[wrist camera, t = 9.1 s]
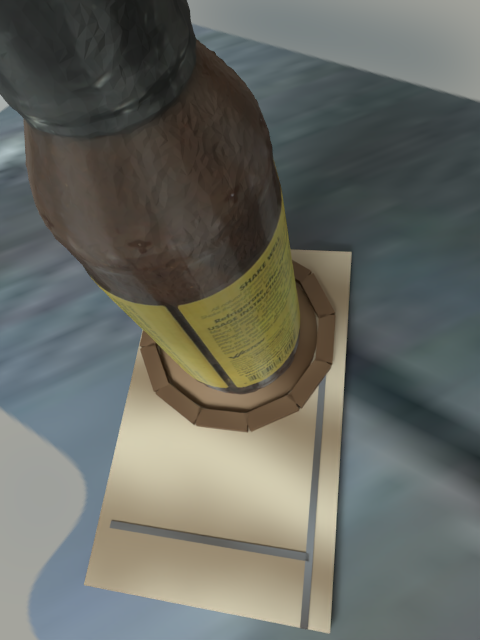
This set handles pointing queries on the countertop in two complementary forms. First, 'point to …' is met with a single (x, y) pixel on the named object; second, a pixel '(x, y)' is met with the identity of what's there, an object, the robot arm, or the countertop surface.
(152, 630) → the countertop surface
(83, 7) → the sauce bottle
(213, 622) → the countertop surface
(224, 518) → the beige flat board
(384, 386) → the countertop surface
